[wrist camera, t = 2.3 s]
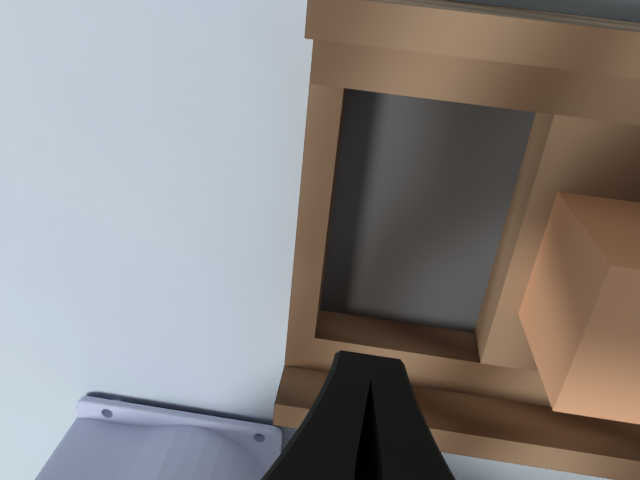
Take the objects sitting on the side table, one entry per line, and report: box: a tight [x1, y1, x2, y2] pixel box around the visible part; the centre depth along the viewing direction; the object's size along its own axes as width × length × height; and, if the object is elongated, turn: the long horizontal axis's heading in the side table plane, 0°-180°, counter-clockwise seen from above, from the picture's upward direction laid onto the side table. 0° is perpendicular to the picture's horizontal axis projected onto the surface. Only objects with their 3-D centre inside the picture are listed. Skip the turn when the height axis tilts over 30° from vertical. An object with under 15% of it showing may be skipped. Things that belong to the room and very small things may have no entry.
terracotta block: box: [518, 192, 640, 424], centre depth 16 cm, size 4×4×4 cm
